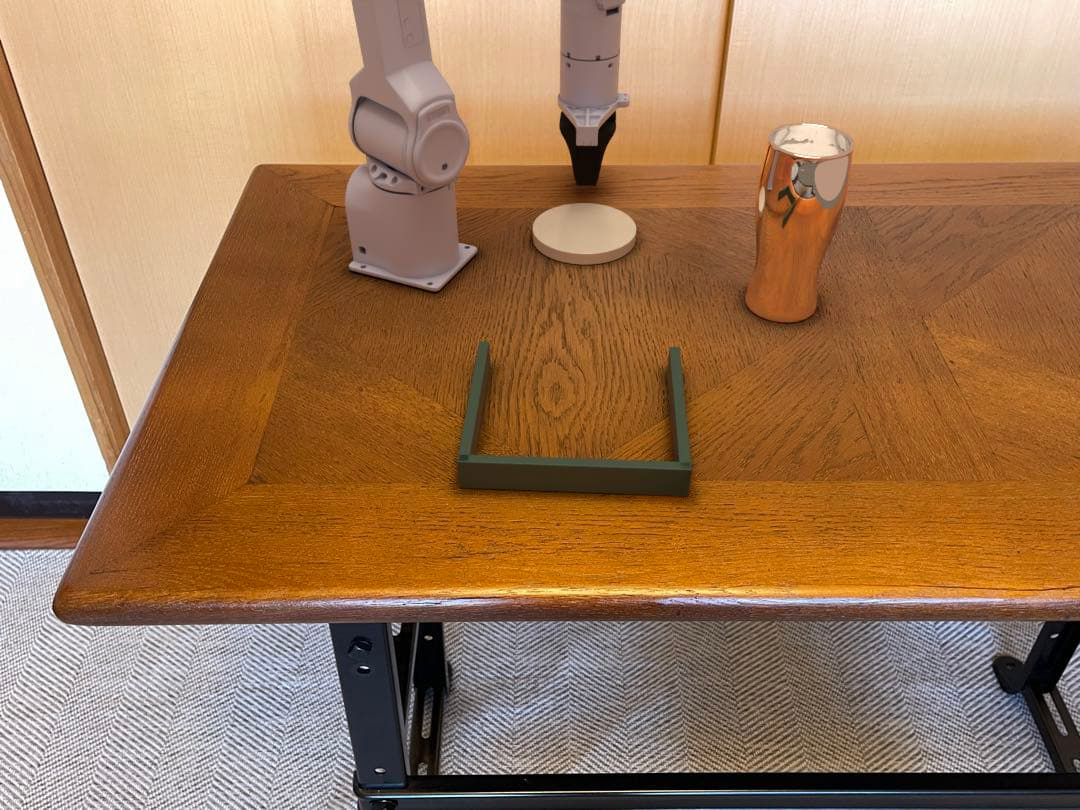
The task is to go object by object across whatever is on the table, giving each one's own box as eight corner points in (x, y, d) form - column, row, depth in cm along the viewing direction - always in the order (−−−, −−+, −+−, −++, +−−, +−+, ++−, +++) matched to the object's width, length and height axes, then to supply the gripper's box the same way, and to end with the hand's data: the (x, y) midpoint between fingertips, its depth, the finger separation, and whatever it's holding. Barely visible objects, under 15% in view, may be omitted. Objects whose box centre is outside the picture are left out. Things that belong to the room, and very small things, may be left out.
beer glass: (822, 330, 78) (860, 162, 68) (738, 321, 79) (764, 154, 69) (820, 286, 83) (855, 124, 73) (741, 278, 84) (765, 118, 74)
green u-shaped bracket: (480, 366, 74) (479, 341, 72) (676, 372, 73) (679, 346, 72) (459, 488, 63) (456, 461, 62) (688, 496, 63) (692, 469, 61)
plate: (515, 251, 88) (514, 240, 87) (557, 206, 95) (557, 195, 94) (613, 274, 85) (614, 262, 84) (650, 225, 92) (651, 214, 91)
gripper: (633, 79, 82) (625, 216, 91) (630, 27, 94) (623, 153, 102) (554, 78, 83) (553, 215, 91) (560, 26, 94) (559, 152, 103)
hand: (586, 182), depth 97 cm, fingers closed
